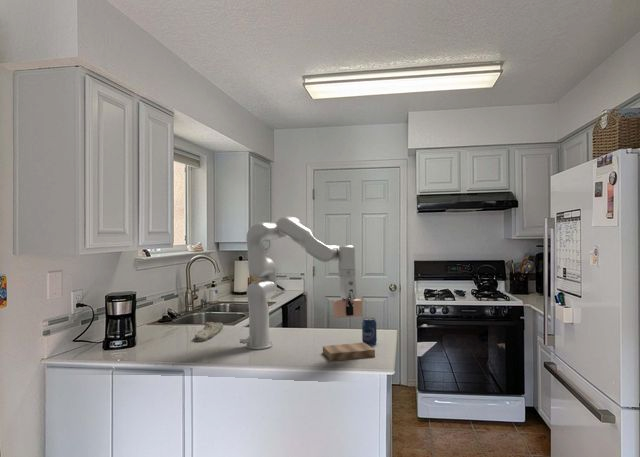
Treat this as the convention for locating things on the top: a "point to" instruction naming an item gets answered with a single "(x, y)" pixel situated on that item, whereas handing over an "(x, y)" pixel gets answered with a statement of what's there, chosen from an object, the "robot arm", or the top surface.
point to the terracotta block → (340, 308)
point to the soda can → (369, 331)
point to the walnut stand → (348, 351)
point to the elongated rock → (208, 331)
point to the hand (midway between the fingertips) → (347, 314)
